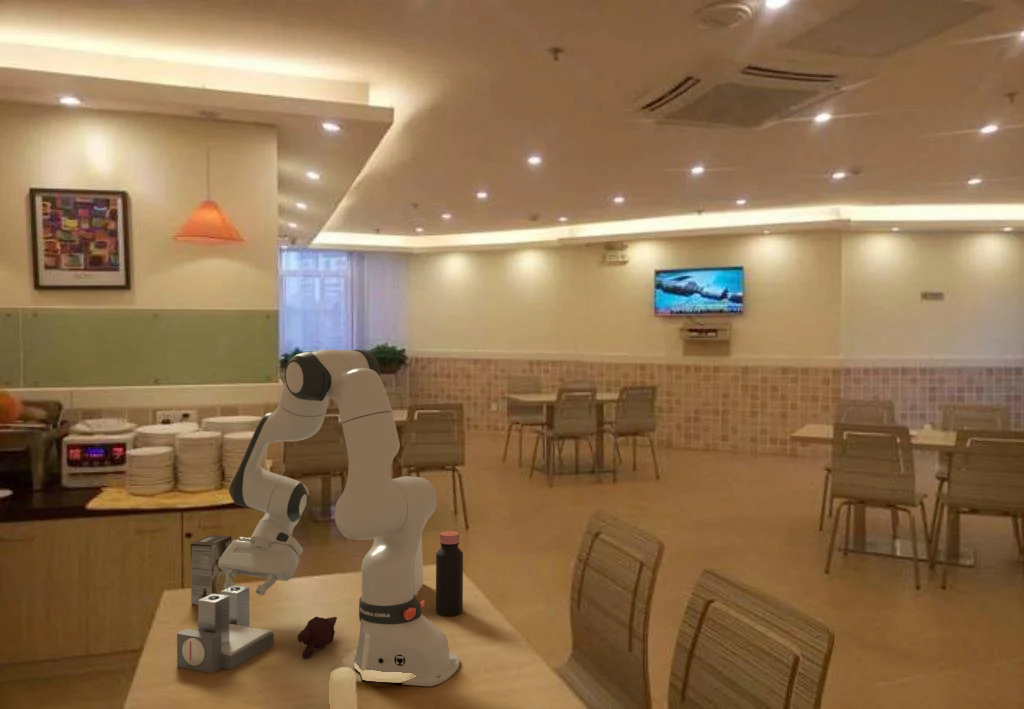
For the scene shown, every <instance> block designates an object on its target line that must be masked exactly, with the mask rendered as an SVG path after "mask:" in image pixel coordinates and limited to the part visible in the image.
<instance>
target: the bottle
mask: <svg viewBox="0 0 1024 709" xmlns="http://www.w3.org/2000/svg"><path fill="white" fill-rule="evenodd" d="M459 544H460V532H458V531H454V530H447V531H442V532H440V533H439V545H440V548H439V549H438V550H437V552H436V553H435V554H436V555H435V612H436V614H438V615H439V614H440V615H439V616H442V615H444V616H443V617H453V616H452V615H455V616H458V615H461V614H462V612H463V610H464V552H463V550H462V549H460V547H459ZM457 614H458V615H457Z"/></svg>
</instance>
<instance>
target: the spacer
mask: <svg viewBox="0 0 1024 709" xmlns="http://www.w3.org/2000/svg"><path fill="white" fill-rule="evenodd" d="M221 595H227V596H229V624H235V625H241V626H247V627H250V587H249V586H241V585H236V584H235V585H233V586H231V587H229V588H227V589H225V590H222V591H221Z"/></svg>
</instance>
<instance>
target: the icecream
mask: <svg viewBox="0 0 1024 709" xmlns="http://www.w3.org/2000/svg"><path fill="white" fill-rule="evenodd" d="M337 619H338V617H337V616H332V617H327V618H324V617H320V616H314V617H313V618H311V619H309V621H308V622H307V624H306V626H305V627H304V628H303V629H302V630H301V631H300V632H299V633H298V634H297V641H298V643H302V644H303V645H304V646H305V648H304V650H303V651H302V658H303V659H304V660H305V659H309V658H311V656H312V655H313V653H314V652H315V650H318V649H323V648H325V647H326V646H327V645H330V644H332V643H333V642H334V637H335V633H336V631H335V625H336V622H337Z"/></svg>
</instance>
